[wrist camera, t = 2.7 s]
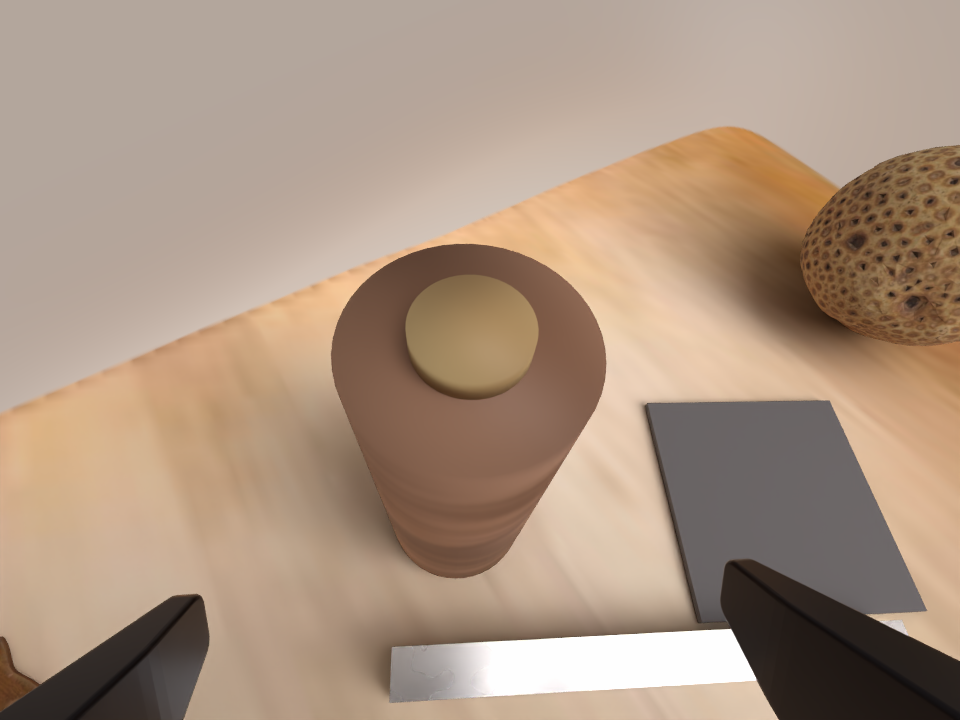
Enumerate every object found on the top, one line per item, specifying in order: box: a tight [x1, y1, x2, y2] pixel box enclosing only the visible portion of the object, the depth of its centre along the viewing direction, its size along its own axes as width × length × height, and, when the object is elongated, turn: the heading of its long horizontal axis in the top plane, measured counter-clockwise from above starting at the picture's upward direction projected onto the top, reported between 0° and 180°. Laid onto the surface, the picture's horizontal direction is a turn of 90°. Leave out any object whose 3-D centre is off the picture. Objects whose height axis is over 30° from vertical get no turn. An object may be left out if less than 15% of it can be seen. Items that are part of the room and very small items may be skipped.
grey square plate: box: [645, 401, 927, 623], centre depth 21 cm, size 9×9×1 cm
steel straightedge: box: [390, 620, 909, 703], centre depth 17 cm, size 18×2×2 cm, turn 93°
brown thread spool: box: [331, 244, 606, 578], centre depth 14 cm, size 5×5×13 cm
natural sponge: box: [800, 145, 960, 346], centre depth 22 cm, size 9×9×10 cm
